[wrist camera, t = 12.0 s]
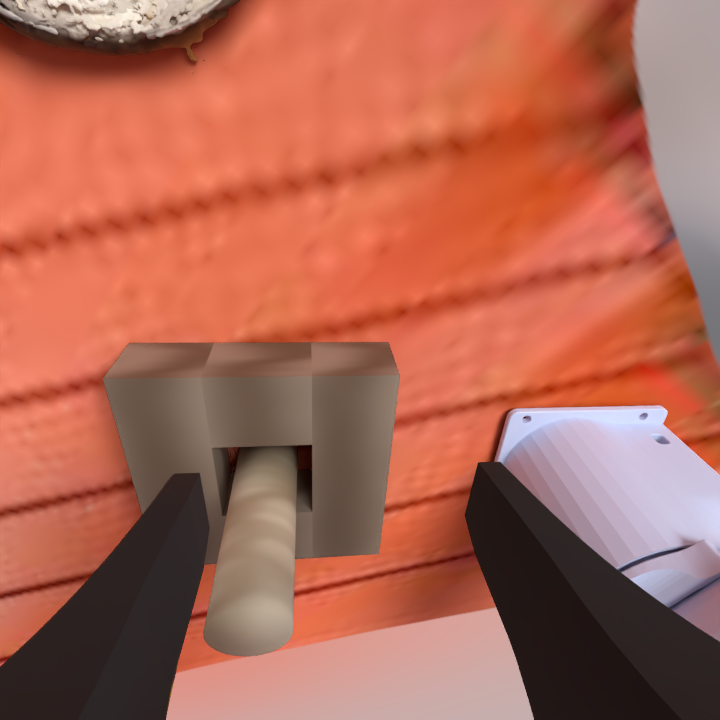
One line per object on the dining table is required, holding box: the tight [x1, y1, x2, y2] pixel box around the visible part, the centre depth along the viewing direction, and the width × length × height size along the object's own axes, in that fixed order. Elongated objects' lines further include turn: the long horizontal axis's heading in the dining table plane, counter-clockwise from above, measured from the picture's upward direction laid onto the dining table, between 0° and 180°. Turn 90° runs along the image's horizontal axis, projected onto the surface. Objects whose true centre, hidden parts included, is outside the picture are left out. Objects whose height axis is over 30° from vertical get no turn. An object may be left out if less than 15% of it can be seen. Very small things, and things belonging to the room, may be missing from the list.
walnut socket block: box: [103, 342, 400, 564], centre depth 22 cm, size 12×12×3 cm
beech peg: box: [203, 445, 298, 656], centre depth 19 cm, size 3×3×10 cm
